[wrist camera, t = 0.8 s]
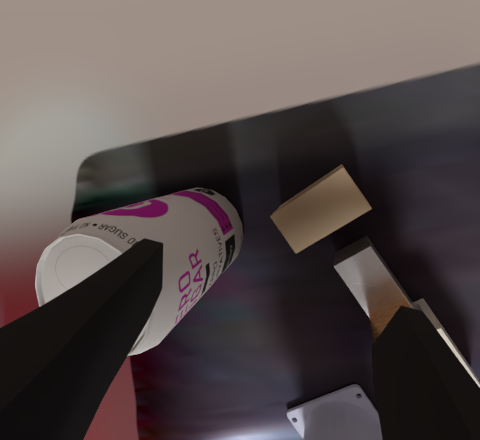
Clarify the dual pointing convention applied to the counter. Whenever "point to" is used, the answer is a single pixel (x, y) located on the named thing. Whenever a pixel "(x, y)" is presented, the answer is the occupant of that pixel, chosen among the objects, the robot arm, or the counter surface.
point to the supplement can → (157, 229)
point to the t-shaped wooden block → (371, 283)
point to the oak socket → (320, 209)
